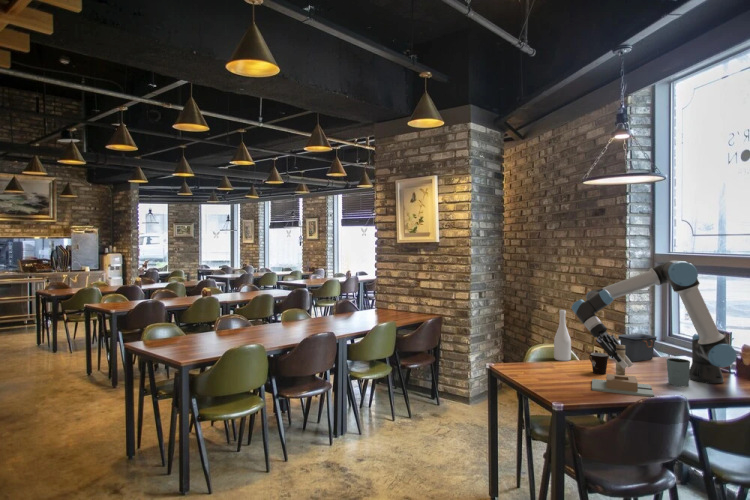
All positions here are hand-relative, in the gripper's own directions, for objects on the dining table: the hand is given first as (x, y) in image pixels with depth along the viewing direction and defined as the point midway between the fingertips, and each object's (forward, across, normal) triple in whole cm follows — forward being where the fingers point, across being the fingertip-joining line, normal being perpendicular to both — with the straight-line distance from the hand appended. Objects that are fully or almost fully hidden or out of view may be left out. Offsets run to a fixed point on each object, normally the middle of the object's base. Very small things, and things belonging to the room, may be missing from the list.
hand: (628, 366), depth 236 cm
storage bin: (-12, -68, -28) cm, 74 cm away
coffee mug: (-11, -20, -27) cm, 36 cm away
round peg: (+1, 0, -6) cm, 6 cm away
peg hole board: (+6, 0, -10) cm, 12 cm away
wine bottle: (-31, -31, -48) cm, 65 cm away
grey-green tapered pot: (+15, -31, -2) cm, 34 cm away
